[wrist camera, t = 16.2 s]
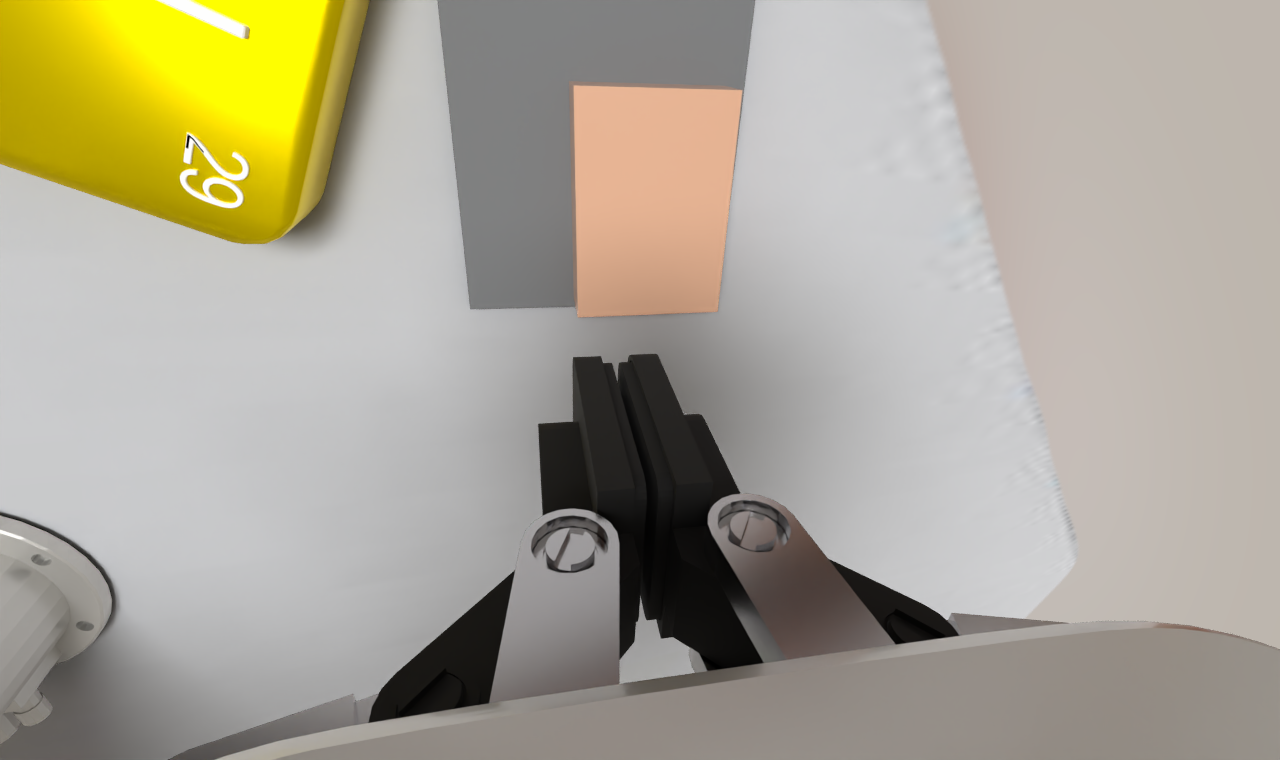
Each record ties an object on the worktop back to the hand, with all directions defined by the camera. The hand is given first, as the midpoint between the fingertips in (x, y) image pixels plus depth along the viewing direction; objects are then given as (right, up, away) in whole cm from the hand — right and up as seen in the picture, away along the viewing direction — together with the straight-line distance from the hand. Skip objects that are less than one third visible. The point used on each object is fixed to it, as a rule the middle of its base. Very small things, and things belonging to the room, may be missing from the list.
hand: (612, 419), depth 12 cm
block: (-2, +9, +15) cm, 17 cm away
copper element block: (-18, +16, +10) cm, 26 cm away
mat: (-1, +12, +15) cm, 19 cm away
